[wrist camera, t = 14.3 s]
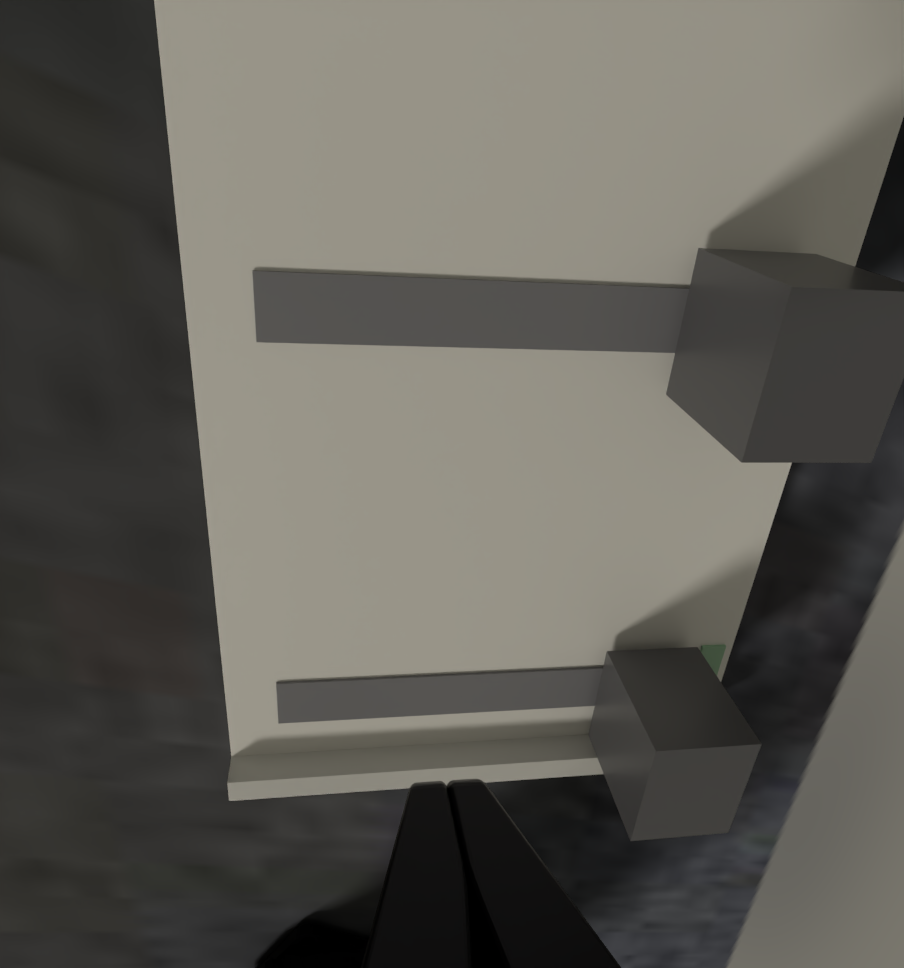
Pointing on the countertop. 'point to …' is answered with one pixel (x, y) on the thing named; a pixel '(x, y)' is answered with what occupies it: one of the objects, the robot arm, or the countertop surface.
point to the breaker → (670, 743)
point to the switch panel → (484, 348)
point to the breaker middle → (789, 355)
